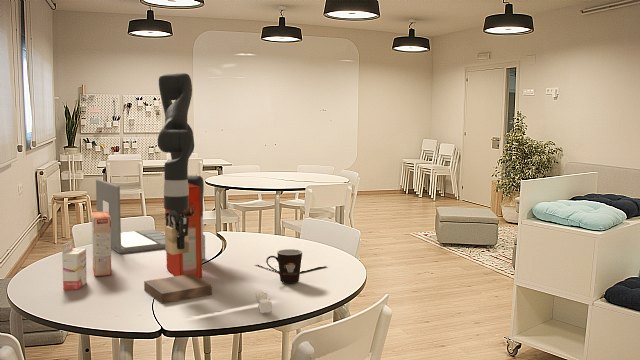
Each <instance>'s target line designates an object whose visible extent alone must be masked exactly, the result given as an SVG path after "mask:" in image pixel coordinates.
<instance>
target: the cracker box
mask: <svg viewBox="0 0 640 360" xmlns="http://www.w3.org/2000/svg"><path fill="white" fill-rule="evenodd" d="M91 229H92V230H91V232H92V233H91V235H92V236H91V239H92V240H91V241H92V243H91V244H92V269H93V274H94V277H104V276H111V275H112V248H111V217H110V215H109V213H108V212H97V211H92V212H91Z"/></svg>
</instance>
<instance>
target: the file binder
mask: <svg viewBox="0 0 640 360" xmlns="http://www.w3.org/2000/svg"><path fill="white" fill-rule="evenodd" d="M188 186H189V208H188V209H185V210H184V215H185V218H186V217H188V218H189V224H188V227H189V253H181V254H173V255H171V254H170V253H168V252H166V251H165V252H166V269H167V270H168V272H170V273H171V274H172V275H173V277H174V276H181V275H187V274H193V275H194V276H196V277H198V278H200V279H202V278H203V267H202V266H203V263H202V260H203V259H202V250H201V198H200V187H199V186H196V185H193V184H190V183H188ZM168 212H169V210H166V209H164V214H165V213H168Z"/></svg>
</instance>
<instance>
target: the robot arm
mask: <svg viewBox="0 0 640 360" xmlns="http://www.w3.org/2000/svg"><path fill="white" fill-rule="evenodd" d="M158 89H159V94H160V100H161V103H162V107H163V112H164V125H163V126H162V128H161V130H160V131H159V134H158V136H157V146H158V148H159V150H160V151H162V152H164V153H167V154H168V153H170V157H171V158H170V160H167V161H165V162H164V165H163V167H164V168H163V170H164V172H163V173H164V175H163V176H164V177H163V179H164V182H163V209H164V210H165V209H166V210H169V212H168V213H165V212H164V216H165V217H164V218H165V226H174V229H175V230H176V235H177V249H179V250H180V249H184V248H185V244H184V237H185V236H188V224H189V218H188V217H186V218H185V215H184V210H185V209H188V208H189V186H188V183H190V184H193V185H196V186H199V187H200V198H201V250H202V260H206V234H204V191H205V190H204V189H205V187H204V186H205V185H204V184H205V183H204V179H203V177H202V176H201V175H189V174H188V171H189V170H188V169H189V168H188V167H189V165H188V164H189V159H190V157H191V156H192V154H193V152H194V150H195V139H194V138H195V137H194V132H193V129H192V127H191V126H190V124H189V123H188V112H189V110H190V109H189V108H190V105H191V101H192V95H193V84H192V78H191V76H190V75H189V74H188V73H185V72H181V73H180V72H178V73H177V72H176V73H163V74H160V76H159V78H158ZM182 231H183V232H182Z"/></svg>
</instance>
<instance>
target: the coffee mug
mask: <svg viewBox="0 0 640 360" xmlns="http://www.w3.org/2000/svg"><path fill="white" fill-rule="evenodd" d="M276 253H277V256H276V255H269V256H268V257H267V258H266V261H265V263H267V265H268V266H269V267H270V268H271V269H273V270H274V271H273V272H275V271H276V272H275V273H278V275H279V279H280V282H281V283H282V284H283V283H284V284H295V283H299V281H300V274H301V273H300V268H301V260H302V258H303V251H302V250H300V249H293V248H292V249H291V248H289V249H288V248H287V249H279V250H277V252H276ZM271 258H274V259H275V261H276V260H277V262H278V264H279V271H277V270H276V269H274V268H273V267H271V266H270V265H269V264H268V262H269V259H271Z"/></svg>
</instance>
